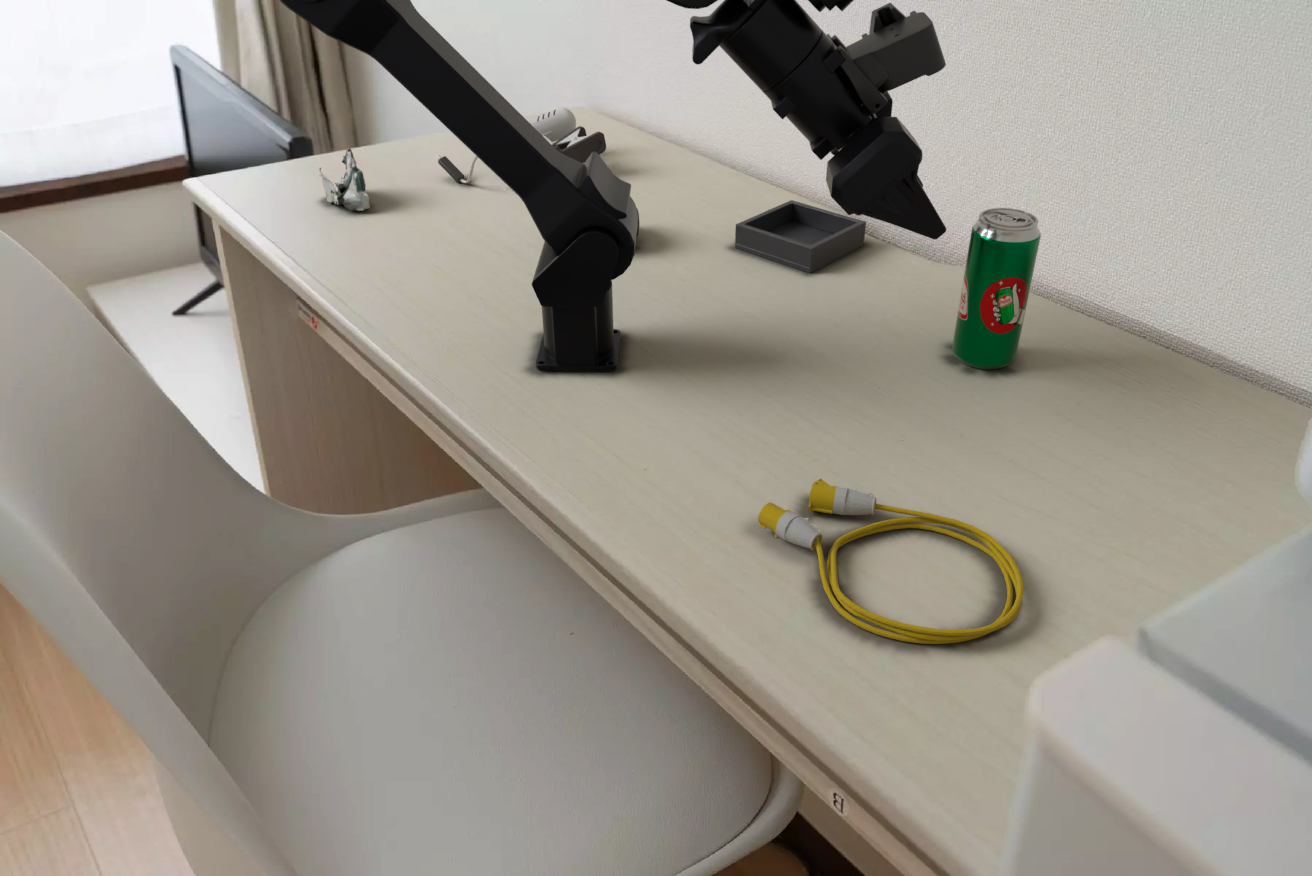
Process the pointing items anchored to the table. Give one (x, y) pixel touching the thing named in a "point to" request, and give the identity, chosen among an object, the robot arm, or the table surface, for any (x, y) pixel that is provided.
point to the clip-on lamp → (550, 140)
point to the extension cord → (864, 504)
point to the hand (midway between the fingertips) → (929, 211)
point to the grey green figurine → (348, 186)
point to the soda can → (996, 287)
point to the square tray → (800, 235)
